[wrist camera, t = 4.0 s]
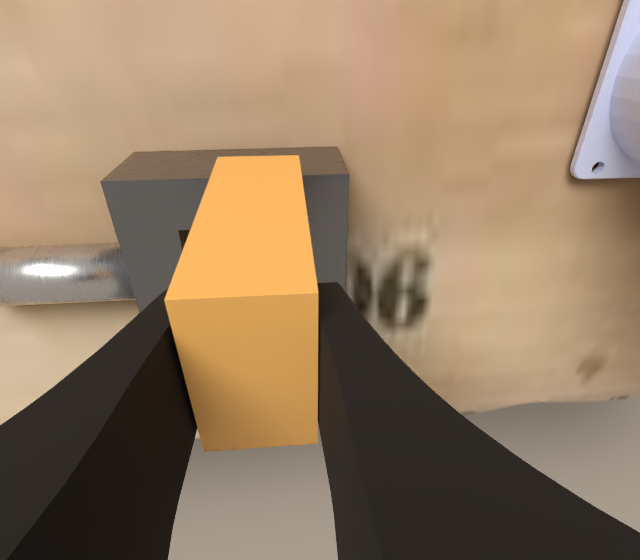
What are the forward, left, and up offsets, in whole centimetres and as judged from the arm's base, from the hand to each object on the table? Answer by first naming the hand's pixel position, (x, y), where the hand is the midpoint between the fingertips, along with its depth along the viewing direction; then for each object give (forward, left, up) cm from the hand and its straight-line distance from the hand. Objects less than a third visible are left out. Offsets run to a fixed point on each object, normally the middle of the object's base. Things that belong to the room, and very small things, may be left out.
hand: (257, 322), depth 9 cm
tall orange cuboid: (0, 0, -5) cm, 5 cm away
